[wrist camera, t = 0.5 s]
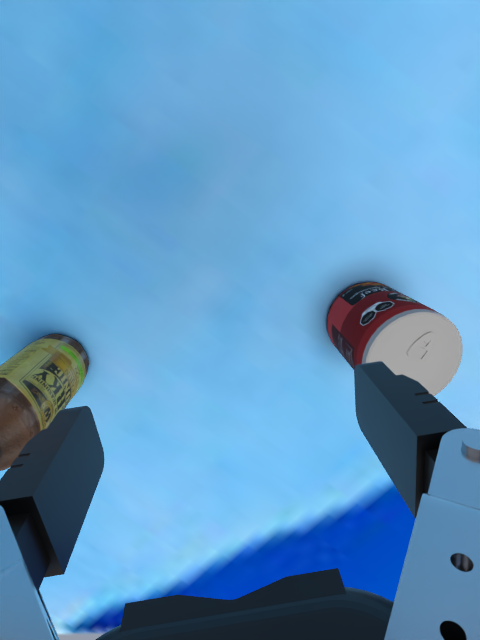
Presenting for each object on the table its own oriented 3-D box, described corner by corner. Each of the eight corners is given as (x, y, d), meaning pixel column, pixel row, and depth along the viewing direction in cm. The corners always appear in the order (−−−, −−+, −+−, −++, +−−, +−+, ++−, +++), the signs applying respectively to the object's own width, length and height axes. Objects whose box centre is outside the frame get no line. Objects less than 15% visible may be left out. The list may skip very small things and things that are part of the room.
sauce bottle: (95, 386, 40) (-7, 555, 21) (33, 388, 40) (-127, 562, 21) (87, 328, 38) (-33, 457, 19) (22, 329, 38) (-166, 463, 19)
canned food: (409, 289, 39) (480, 323, 29) (381, 359, 42) (438, 414, 31) (339, 271, 38) (387, 300, 28) (315, 344, 41) (350, 396, 30)
